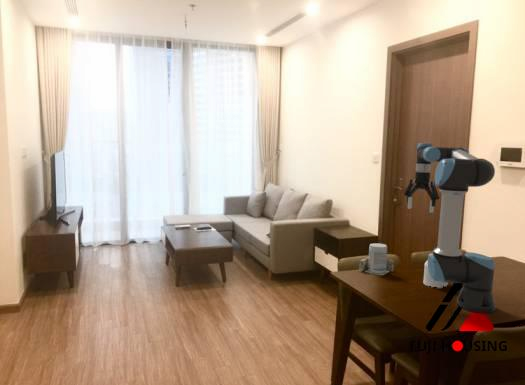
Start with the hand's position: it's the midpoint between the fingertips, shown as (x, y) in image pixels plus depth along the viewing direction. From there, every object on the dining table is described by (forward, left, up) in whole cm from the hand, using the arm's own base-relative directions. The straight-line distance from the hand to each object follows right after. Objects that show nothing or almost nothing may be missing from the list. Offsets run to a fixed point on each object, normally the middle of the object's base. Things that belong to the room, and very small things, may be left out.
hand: (420, 210), depth 231 cm
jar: (-14, -15, -35) cm, 40 cm away
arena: (-15, +16, -35) cm, 41 cm away
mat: (-15, +16, -35) cm, 41 cm away
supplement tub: (-15, +16, -35) cm, 41 cm away
